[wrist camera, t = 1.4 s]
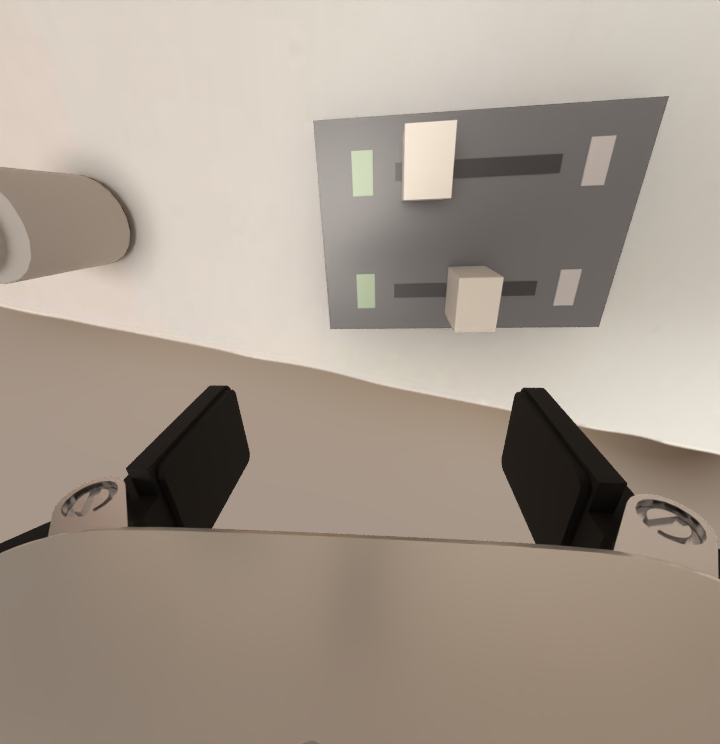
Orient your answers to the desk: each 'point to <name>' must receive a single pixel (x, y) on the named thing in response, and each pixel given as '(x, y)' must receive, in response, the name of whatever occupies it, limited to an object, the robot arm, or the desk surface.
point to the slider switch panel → (484, 212)
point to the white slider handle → (473, 298)
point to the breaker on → (428, 160)
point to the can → (56, 224)
